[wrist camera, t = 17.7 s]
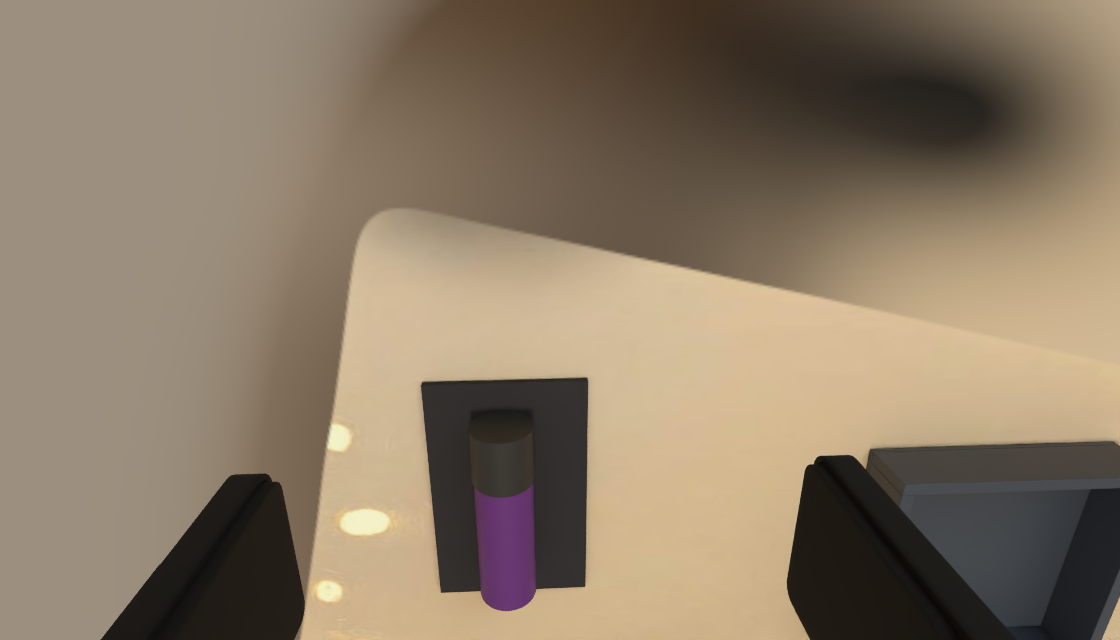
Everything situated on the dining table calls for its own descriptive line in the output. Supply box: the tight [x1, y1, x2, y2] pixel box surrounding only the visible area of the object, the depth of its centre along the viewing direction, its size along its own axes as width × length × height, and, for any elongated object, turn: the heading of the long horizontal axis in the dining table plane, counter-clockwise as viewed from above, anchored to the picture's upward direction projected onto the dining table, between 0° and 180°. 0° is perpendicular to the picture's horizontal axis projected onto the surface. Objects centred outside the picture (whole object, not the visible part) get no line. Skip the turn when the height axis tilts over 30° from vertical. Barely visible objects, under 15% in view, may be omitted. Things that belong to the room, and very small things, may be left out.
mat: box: [421, 378, 588, 593], centre depth 39 cm, size 16×10×1 cm, turn 0°
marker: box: [468, 410, 536, 611], centre depth 37 cm, size 4×12×4 cm, turn 0°
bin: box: [866, 442, 1120, 640], centre depth 41 cm, size 17×17×4 cm
